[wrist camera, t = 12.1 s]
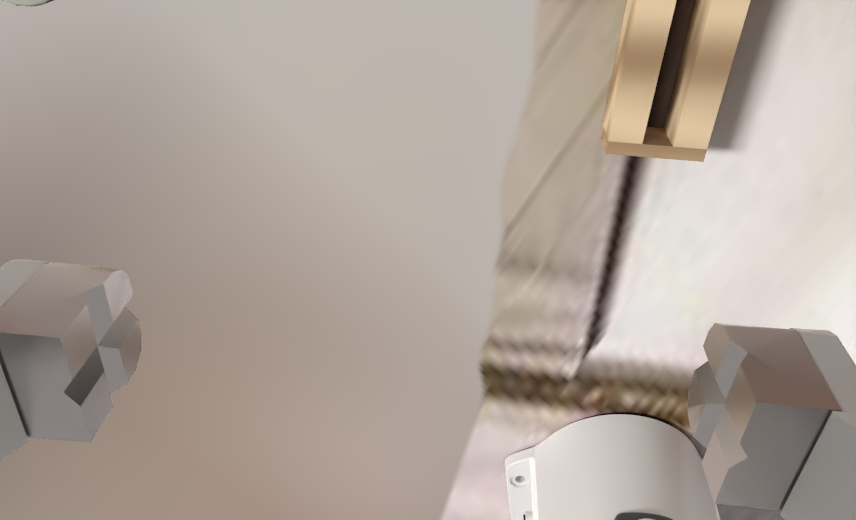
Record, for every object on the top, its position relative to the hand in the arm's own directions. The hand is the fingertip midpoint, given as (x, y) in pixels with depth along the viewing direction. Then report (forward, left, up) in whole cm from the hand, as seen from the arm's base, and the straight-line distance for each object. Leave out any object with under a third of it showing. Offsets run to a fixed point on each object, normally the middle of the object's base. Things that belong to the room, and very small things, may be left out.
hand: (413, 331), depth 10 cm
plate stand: (-6, -12, -35) cm, 38 cm away
